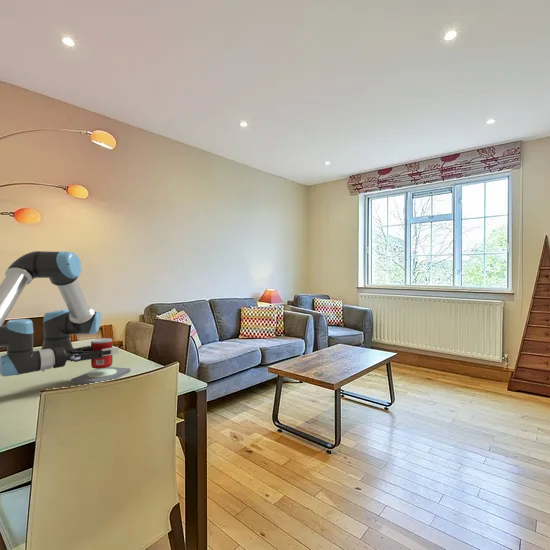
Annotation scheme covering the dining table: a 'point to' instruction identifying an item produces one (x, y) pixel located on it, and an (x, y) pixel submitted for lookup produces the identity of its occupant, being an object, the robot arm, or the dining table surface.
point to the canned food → (98, 345)
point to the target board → (101, 375)
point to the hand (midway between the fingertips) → (114, 348)
